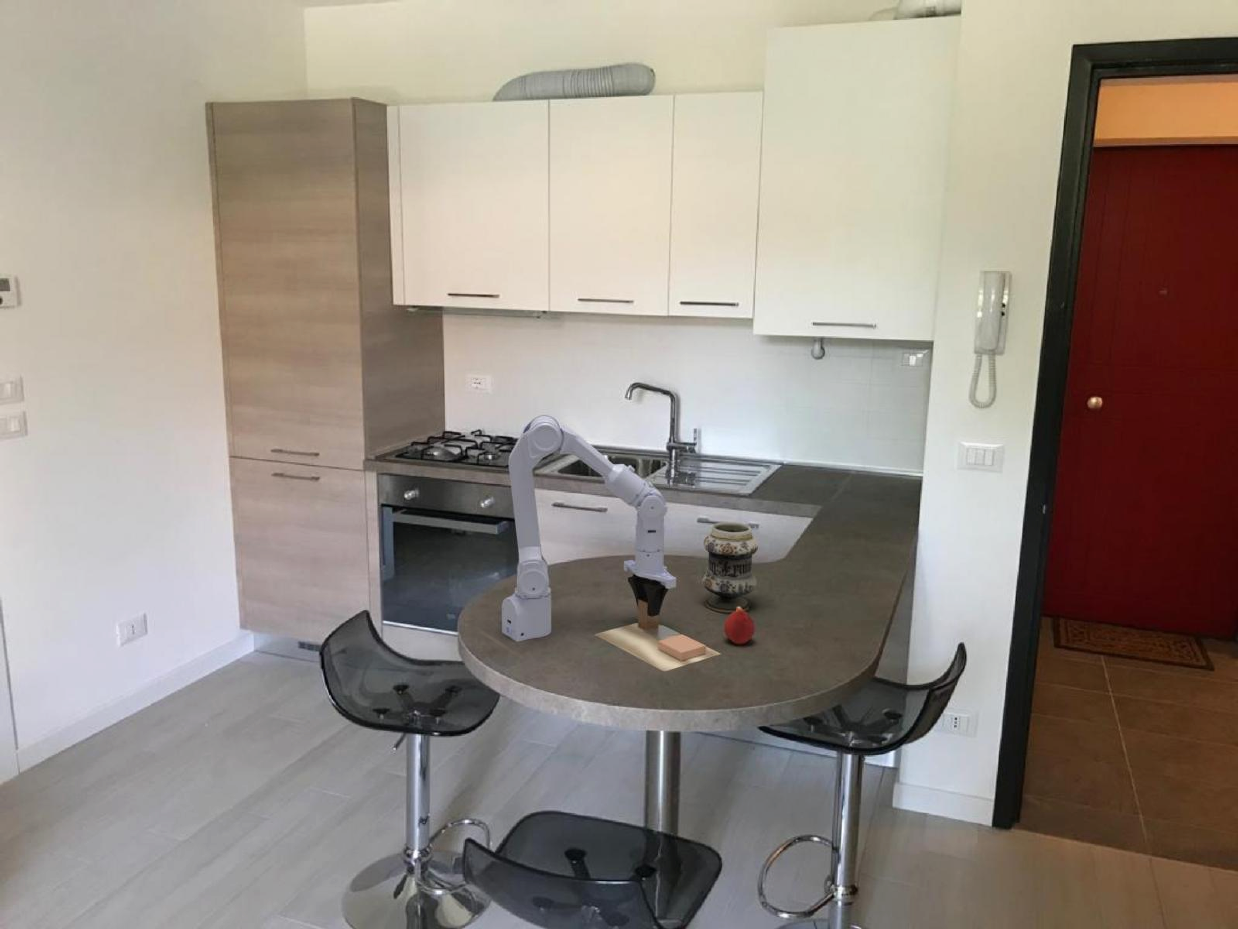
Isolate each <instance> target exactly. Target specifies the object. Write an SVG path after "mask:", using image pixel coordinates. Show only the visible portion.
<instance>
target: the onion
mask: <svg viewBox="0 0 1238 929" xmlns="http://www.w3.org/2000/svg"><path fill="white" fill-rule="evenodd" d="M723 628H724V632H725V635H726V637H727V638H728V639H729V640H730V641H731V643H734V644H736V645H744V644H746V643H748V642H749V641H750V639H752V637H753V636H754V634H755V630H756V629H755V624H754V621H753V618H752V616H751V615H750V614H749V613H747V611H744V610H742V609H741V607H736V611H735V612H733V613H729V615H728V616H727V617H726V620H725V622H724V625H723Z"/></svg>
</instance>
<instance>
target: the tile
mask: <svg viewBox="0 0 1238 929" xmlns="http://www.w3.org/2000/svg"><path fill="white" fill-rule="evenodd" d="M706 647H707V645H705V644H704V643H701V642H699V641H697V640H695V639H693V638H691V637H688V636H686V635H685V634H682V633H681V634H680V635H678V636H674V637H671V638H667V639H664V640H660V641H658V649H659V650H661V651H663V652H665V653H667V654H669V655H671V656H673V657H675V658H677V659H679V660H681V661H683V660H686V659H690V658H693V657H696V656H699V655H703V654H705V653H706Z"/></svg>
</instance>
